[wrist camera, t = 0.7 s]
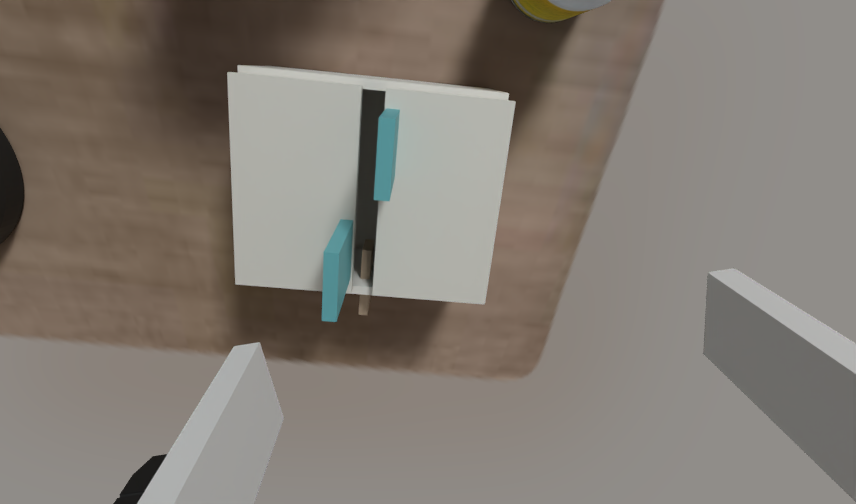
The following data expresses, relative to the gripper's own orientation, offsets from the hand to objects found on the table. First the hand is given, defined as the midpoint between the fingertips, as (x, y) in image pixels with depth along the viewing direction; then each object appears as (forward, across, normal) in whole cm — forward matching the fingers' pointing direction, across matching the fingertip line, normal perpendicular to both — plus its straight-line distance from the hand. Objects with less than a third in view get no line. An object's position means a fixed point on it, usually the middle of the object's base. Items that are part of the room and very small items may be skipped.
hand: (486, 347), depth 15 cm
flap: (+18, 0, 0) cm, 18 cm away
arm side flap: (+18, -9, +2) cm, 21 cm away
